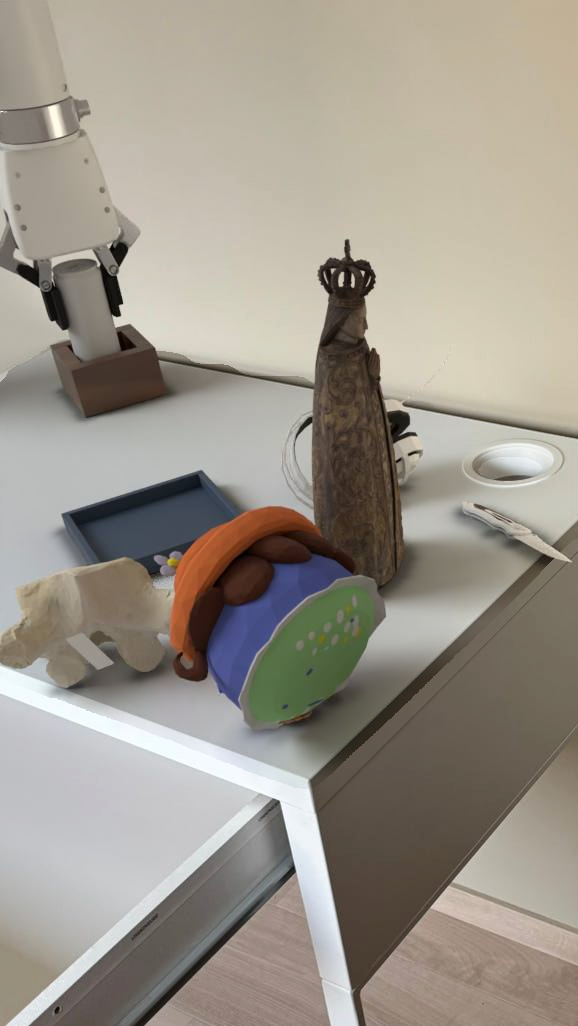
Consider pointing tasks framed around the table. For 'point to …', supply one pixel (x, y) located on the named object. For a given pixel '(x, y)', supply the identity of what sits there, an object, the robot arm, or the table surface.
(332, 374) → the statue
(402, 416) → the headphones
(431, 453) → the table surface
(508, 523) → the pocket knife
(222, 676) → the toy
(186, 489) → the tray
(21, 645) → the decorative object
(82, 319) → the beverage can
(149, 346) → the can holder
